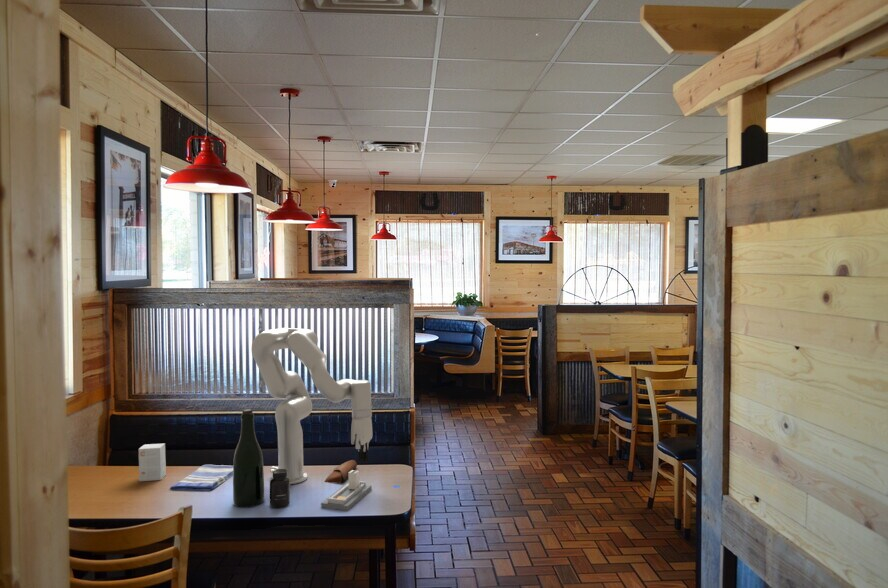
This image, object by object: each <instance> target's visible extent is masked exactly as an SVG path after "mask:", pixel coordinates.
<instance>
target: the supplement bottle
mask: <svg viewBox="0 0 888 588" xmlns="http://www.w3.org/2000/svg"><path fill="white" fill-rule="evenodd" d="M286 476H287V470H286V469H277V470H274V471H273V473H272V478H271V479H270V481H269V506H270V508H273V509H283V508H286V507H288V506H289V505H290V503H291V484H290V479H289V478H288V477H286Z"/></svg>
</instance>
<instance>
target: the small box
mask: <svg viewBox="0 0 888 588" xmlns="http://www.w3.org/2000/svg"><path fill="white" fill-rule="evenodd" d="M137 450H138V478H139V479H138V480H139V482H150V481H152V482H153V481H161V480H162V479H163V478H165V476H166V475H167V471H166V470H167V467H166V466H167V462H166V443H150V444H149V443H148V444H146V443H145V444H143V445H142V446H140V447H139V448H138V449H137Z"/></svg>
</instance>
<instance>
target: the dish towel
mask: <svg viewBox="0 0 888 588" xmlns="http://www.w3.org/2000/svg"><path fill="white" fill-rule="evenodd" d="M230 478H233V465H224V464H221V465H218V464H217V465H216V464H203V465H201V466H200V467H198V468H197V469H196V470H195V471H193V472H191V473H190V474H189V475H187V476H186V477H184V478H182V479H181V480H180V481H179V482H177V483H175V484H174V485H172V486H170V487H169V489H170V490H172V491H193V492H194V491H195V492H196V491H197V492H202V491H203V492H205V491H206V492H211V491H212V490H214V489H215V488H217V487H218V486H221V485H222V484H223V483H224V482H226V481H227V480H229V479H230Z"/></svg>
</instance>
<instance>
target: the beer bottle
mask: <svg viewBox="0 0 888 588" xmlns="http://www.w3.org/2000/svg"><path fill="white" fill-rule="evenodd" d="M241 412H242V413H241V415H240V419H241V423H240V425H241V426H240V436H239V440H238V443H237V445H236V448H235V452H234V454H233V456H234V457H233V465H232V466H233V476H232V503H233V505H234V506H236V507H240V508H250V507H254V506H257V505H259V504H261V503H262V502H263V501H265V477H264V476H265V473H264V458H263V452H262V451H263V450H262V449H261V447H260V444H259V441H258V440H257V436H256V432H255V431H256V430H255V423H254V422H255V413H254V412H253V409H250V408H248V409H247V408H246V409H243V410H242V411H241Z"/></svg>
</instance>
